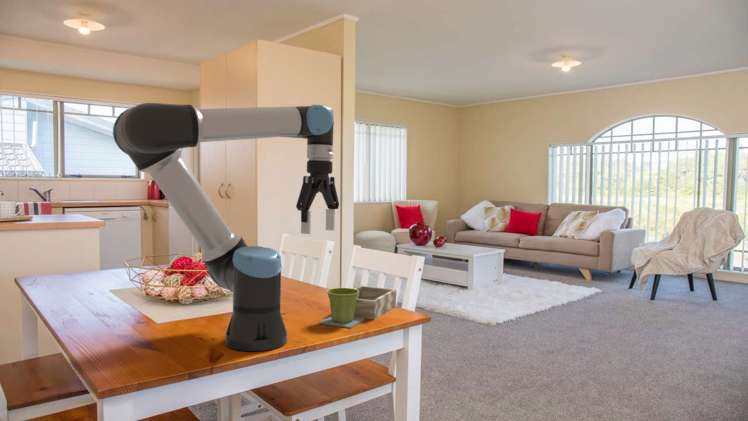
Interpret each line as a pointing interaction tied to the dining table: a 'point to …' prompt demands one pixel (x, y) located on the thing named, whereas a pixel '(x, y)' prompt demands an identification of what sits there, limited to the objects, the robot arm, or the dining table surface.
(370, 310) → the frame
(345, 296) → the plant pot
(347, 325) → the mat
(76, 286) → the dining table surface
